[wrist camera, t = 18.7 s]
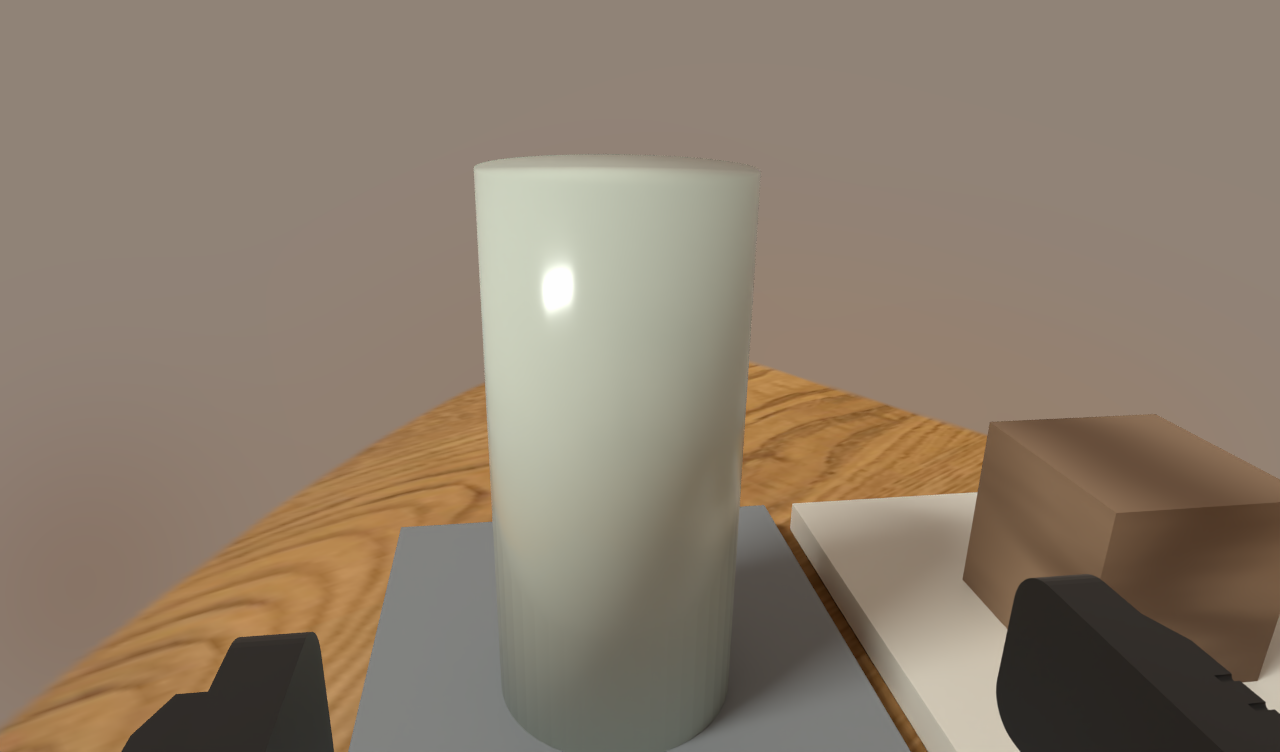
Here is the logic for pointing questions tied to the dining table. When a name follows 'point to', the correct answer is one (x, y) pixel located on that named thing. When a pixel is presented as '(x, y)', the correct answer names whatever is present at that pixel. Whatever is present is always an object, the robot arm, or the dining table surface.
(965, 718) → the cream mat
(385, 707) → the slate mat
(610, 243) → the pale green pillar candle
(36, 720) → the dining table surface
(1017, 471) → the walnut block
